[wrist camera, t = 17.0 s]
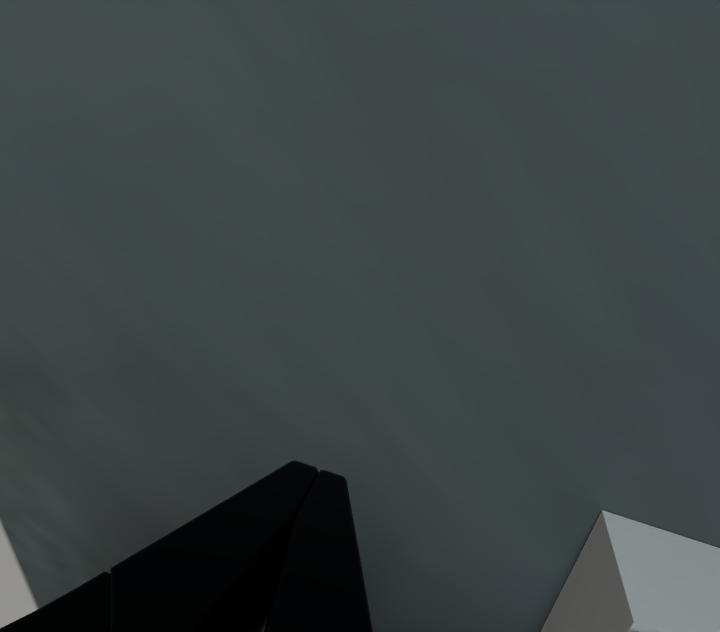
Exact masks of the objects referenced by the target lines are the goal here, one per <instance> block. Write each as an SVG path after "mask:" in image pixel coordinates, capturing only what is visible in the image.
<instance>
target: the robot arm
mask: <svg viewBox="0 0 720 632" xmlns="http://www.w3.org/2000/svg"><path fill="white" fill-rule="evenodd" d="M265 624H266V626H265ZM264 626H265V630H264V632H373V629H372V624H371V618H370V612H369V607H368V601H367V595H366V589H365V584H364V578H363V572H362V566H361V561H360V555H359V549H358V544H357V538H356V532H355V526H354V521H353V515H352V509H351V503H350V498H349V492H348V486H347V481H346V479H345V478H344V477H343V476H340V475H337V474H334V473H331V472H328V471H325V470H321V471H320V472H318V469H317V468H316V467H313V466H310V465H307V464H304V463H301V462H298V461H291V462H289V463H288V464H286V465H284V466H283V467H281V468H279V469H278V470H276V471H274V472H272V473H271V474H269V475H267V476H266V477H264V478H262V479H261V480H259V481H257V482H256V483H254V484H252V485H250V486H249V487H247V488H245V489H244V490H242V491H240V492H239V493H237V494H235V495H234V496H232V497H230V498H229V499H227V500H225V501H223V502H222V503H220V504H218V505H217V506H215V507H213V508H212V509H210V510H208V511H207V512H205V513H203V514H201V515H200V516H198V517H196V518H195V519H193V520H191V521H190V522H188V523H186V524H185V525H183V526H181V527H179V528H178V529H176V530H174V531H173V532H171V533H169V534H168V535H166V536H164V537H163V538H161V539H159V540H158V541H156V542H154V543H152V544H151V545H149V546H147V547H146V548H144V549H142V550H141V551H139V552H137V553H136V554H134V555H132V556H130V557H129V558H127V559H125V560H124V561H122V562H120V563H119V564H117V565H115V566H114V567H112V568H111V569H110V570H109V573H108V572H103V573H101V574H100V575H98V576H96V577H94V578H93V579H91V580H89V581H88V582H86V583H84V584H83V585H81V586H79V587H78V588H76V589H74V590H72V591H70V592H69V593H67V594H65V595H63V596H61V597H60V598H58V599H56V600H54V601H52V602H51V603H49V604H47V605H45V606H43V607H42V608H40V609H38V610H36V611H34V612H32V613H31V614H29V615H26V616H25V617H23V618H20V619H18V620H16V621H15V622H12V623H10V624H8V625H6V626H5V627H2V628H1V629H0V632H262V630H263V628H264Z"/></svg>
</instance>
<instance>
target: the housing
mask: <svg viewBox="0 0 720 632" xmlns="http://www.w3.org/2000/svg"><path fill="white" fill-rule="evenodd" d="M637 631H639V632H720V548H717V547H714V546H711V545H708V544H705V543H702V542H699V541H696V540H693V539H690V538H686V537H683V536H680V535H677V534H674V533H671V532H668V531H665V530H662V529H659V528H656V527H653V526H649V525H646V524H643V523H640V522H637V521H634V520H631V519H628V518H625V517H622V516H619V515H616V514H612V513H609V512H606V511H603V510H602V511H601V513H600V515H599V517H598V519H597V521H596V523H595V525H594V527H593V529H592V531H591V533H590V535H589V537H588V539H587V541H586V543H585V545H584V547H583V549H582V551H581V553H580V555H579V557H578V559H577V561H576V563H575V564H574V566H573V568H572V570H571V572H570V574H569V576H568V578H567V580H566V582H565V584H564V586H563V588H562V590H561V592H560V594H559V596H558V598H557V600H556V602H555V604H554V606H553V608H552V610H551V612H550V614H549V616H548V618H547V620H546V622H545V624H544V626H543V628H542V629H541V631H540V632H637Z"/></svg>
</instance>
